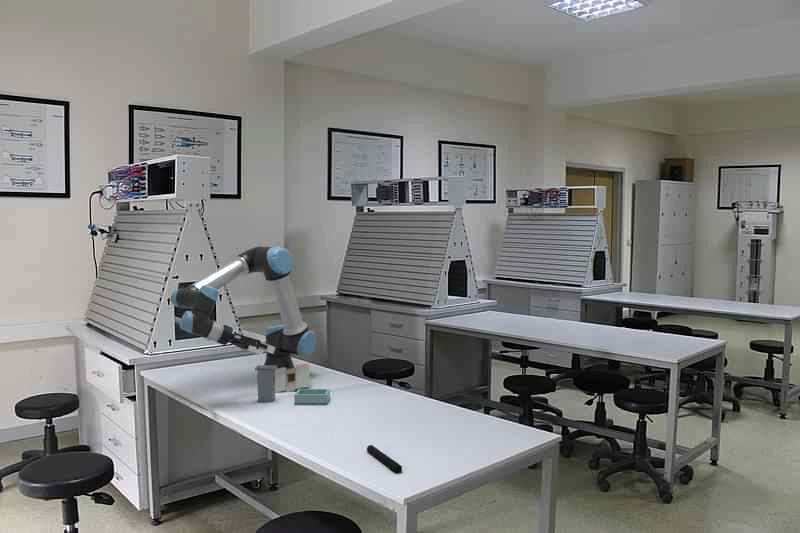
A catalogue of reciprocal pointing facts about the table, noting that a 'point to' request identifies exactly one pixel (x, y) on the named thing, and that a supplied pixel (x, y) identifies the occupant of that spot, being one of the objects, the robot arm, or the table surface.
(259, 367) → the brushed metal pillar
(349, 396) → the table surface
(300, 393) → the tray
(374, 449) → the gadget
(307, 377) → the wall
